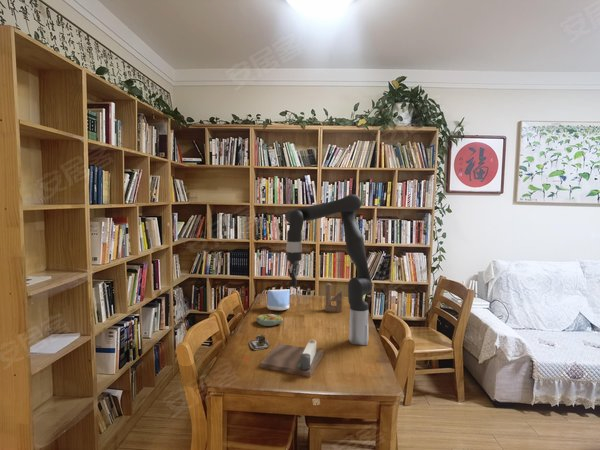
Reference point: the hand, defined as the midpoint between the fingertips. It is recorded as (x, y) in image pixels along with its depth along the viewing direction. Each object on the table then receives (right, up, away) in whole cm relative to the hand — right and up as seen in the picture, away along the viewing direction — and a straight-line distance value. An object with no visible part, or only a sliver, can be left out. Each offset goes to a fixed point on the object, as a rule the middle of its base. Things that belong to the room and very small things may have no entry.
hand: (293, 285), depth 154 cm
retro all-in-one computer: (-13, -27, +50) cm, 58 cm away
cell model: (-22, -27, +28) cm, 44 cm away
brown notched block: (+25, -27, +50) cm, 62 cm away
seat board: (0, -30, -16) cm, 34 cm away
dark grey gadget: (-22, -30, +3) cm, 37 cm away
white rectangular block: (+7, -28, -20) cm, 35 cm away
